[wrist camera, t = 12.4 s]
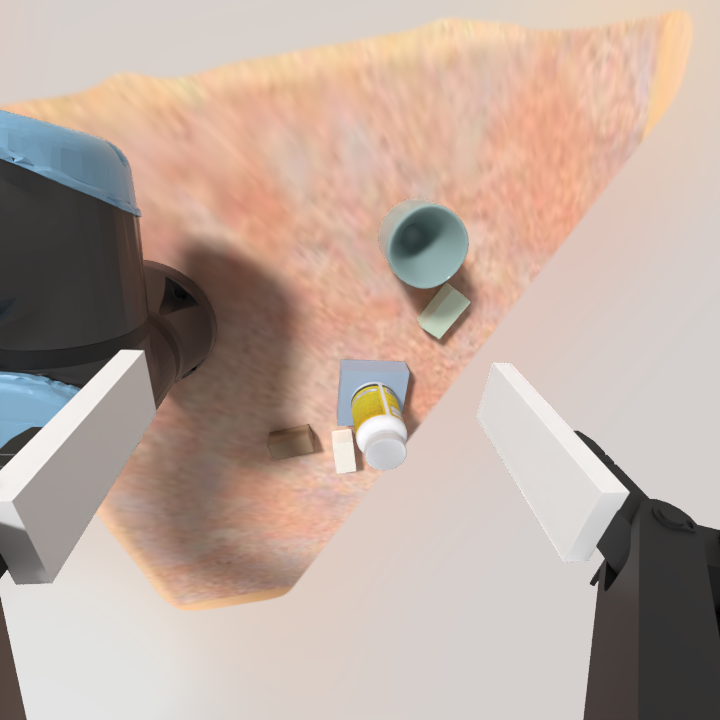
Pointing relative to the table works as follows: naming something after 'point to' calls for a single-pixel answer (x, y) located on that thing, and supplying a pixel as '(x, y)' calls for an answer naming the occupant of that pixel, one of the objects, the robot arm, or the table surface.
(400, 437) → the pill bottle
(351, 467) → the cream brick
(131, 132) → the table surface
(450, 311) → the sage brick
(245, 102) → the table surface
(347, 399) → the slab
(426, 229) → the cup
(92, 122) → the table surface
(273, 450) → the walnut brick
